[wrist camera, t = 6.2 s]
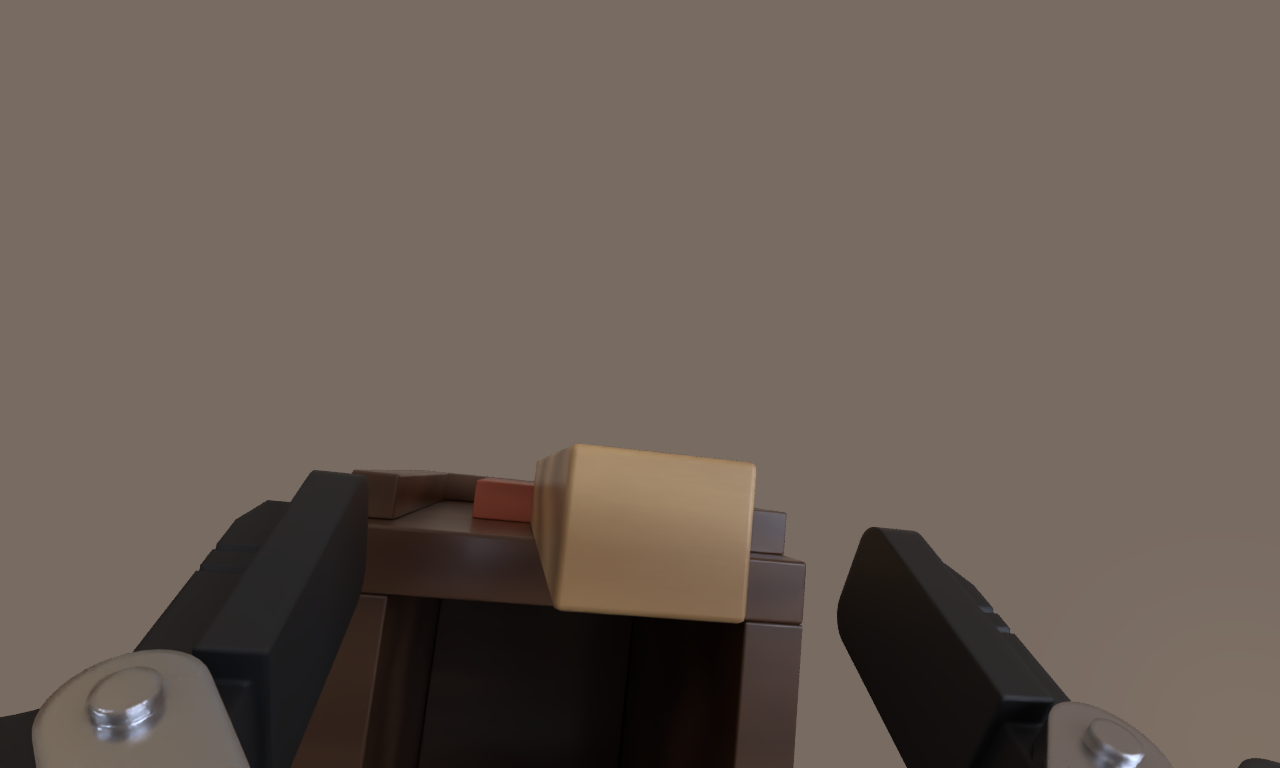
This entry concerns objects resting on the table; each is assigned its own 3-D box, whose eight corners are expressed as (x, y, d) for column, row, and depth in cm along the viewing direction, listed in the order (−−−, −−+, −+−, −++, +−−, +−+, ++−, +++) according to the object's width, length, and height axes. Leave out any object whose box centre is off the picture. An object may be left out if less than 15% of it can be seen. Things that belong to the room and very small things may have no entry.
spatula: (882, 635, 9) (889, 477, 9) (392, 600, 8) (418, 424, 8) (621, 518, 30) (625, 473, 30) (483, 505, 29) (489, 458, 29)
